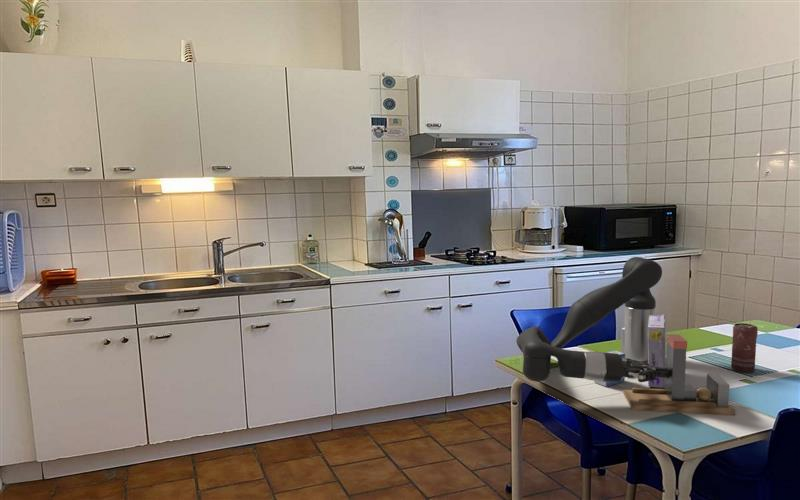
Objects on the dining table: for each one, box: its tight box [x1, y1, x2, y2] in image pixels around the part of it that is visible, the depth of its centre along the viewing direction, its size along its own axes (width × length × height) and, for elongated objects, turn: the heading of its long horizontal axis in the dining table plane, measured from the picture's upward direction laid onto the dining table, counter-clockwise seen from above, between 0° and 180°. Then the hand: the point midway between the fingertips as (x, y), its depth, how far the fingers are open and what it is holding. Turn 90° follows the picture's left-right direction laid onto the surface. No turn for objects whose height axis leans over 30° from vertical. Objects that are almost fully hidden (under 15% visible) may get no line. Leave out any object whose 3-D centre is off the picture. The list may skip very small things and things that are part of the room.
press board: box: [622, 387, 736, 416], centre depth 144 cm, size 24×11×2 cm, turn 79°
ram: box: [665, 333, 697, 402], centre depth 143 cm, size 6×6×16 cm
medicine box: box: [593, 350, 626, 388], centre depth 160 cm, size 8×4×9 cm, turn 117°
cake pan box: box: [647, 314, 667, 389], centre depth 163 cm, size 19×5×18 cm, turn 155°
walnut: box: [696, 386, 711, 401], centre depth 143 cm, size 4×4×4 cm
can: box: [730, 322, 759, 374], centre depth 168 cm, size 6×6×14 cm
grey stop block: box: [706, 373, 730, 408], centre depth 142 cm, size 2×8×6 cm, turn 169°
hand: (669, 373), depth 143 cm, fingers closed
